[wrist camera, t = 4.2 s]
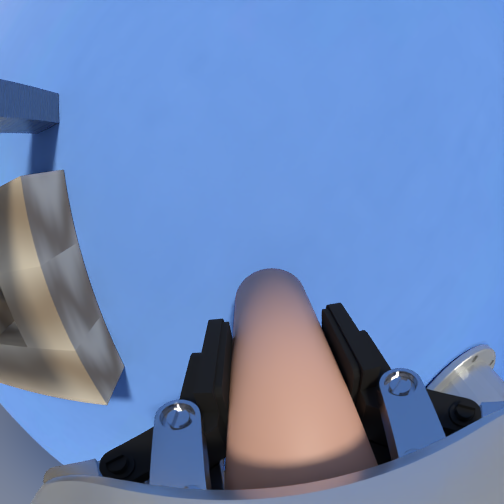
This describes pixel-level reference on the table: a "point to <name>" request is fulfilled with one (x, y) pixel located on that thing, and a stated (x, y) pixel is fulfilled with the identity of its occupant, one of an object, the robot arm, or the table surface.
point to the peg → (287, 393)
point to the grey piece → (26, 108)
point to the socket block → (49, 298)
